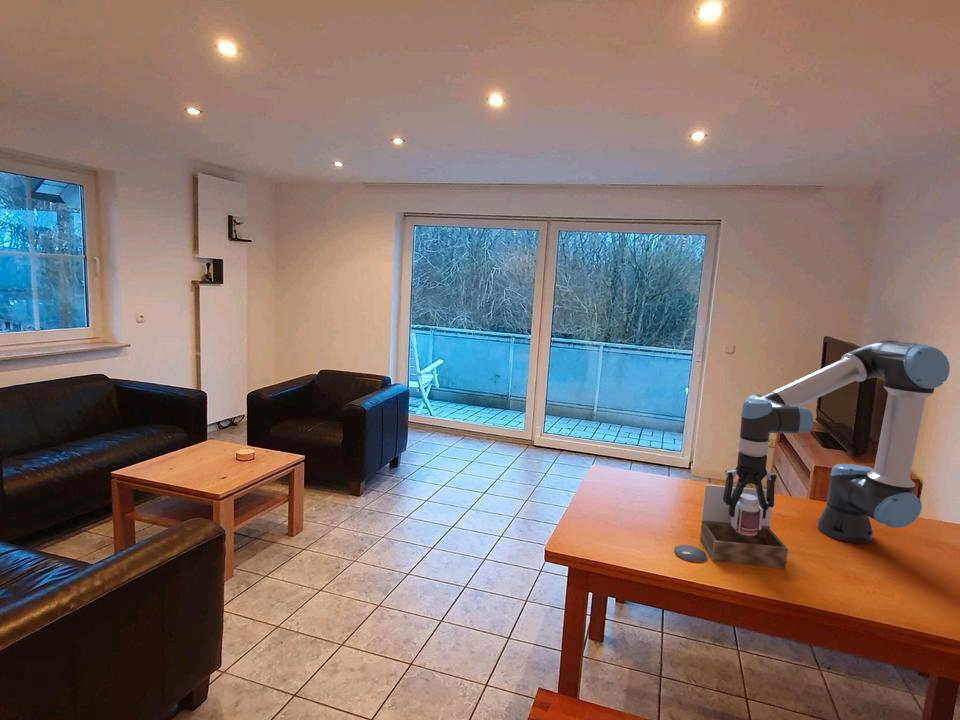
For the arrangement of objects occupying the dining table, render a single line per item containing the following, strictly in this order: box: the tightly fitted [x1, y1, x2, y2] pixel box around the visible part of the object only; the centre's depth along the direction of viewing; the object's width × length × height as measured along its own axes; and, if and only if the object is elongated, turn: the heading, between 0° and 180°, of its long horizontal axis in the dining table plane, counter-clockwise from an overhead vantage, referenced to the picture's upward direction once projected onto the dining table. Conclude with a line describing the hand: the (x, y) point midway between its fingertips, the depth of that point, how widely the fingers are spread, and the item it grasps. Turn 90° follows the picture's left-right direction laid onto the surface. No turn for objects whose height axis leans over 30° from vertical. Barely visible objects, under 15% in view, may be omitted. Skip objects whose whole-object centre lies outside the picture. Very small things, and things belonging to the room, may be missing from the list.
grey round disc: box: [673, 544, 707, 563], centre depth 158 cm, size 9×9×1 cm
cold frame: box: [699, 522, 789, 569], centre depth 161 cm, size 20×17×12 cm
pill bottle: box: [735, 494, 759, 536], centre depth 158 cm, size 6×6×11 cm
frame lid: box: [700, 484, 773, 529], centre depth 165 cm, size 20×1×12 cm, turn 83°
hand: (745, 527), depth 159 cm, fingers closed on pill bottle, 6 cm apart
